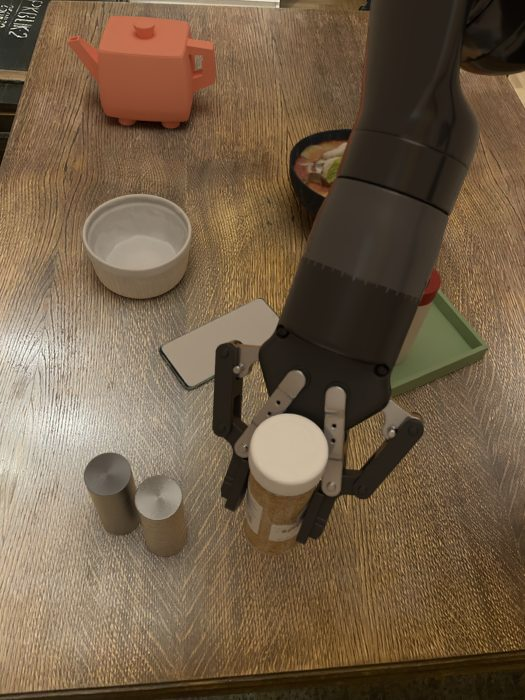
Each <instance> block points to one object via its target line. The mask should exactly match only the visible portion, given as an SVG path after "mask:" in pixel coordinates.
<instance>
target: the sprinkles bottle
mask: <svg viewBox="0 0 525 700" xmlns="http://www.w3.org/2000/svg"><path fill="white" fill-rule="evenodd" d="M248 460H249V467H250V473H249V477H248V488H247V491H246V499H245V509H244V511H245V514H244V518H243V524H242V525H243V527H242V528H243V533H244V537H245V539H246V541H247V542H248V544H249V546H251V548H253V549H254V550H255V551H257V552H258V553H259V554H261V555H263V556H267V557H268V556H269V557H279V556H283V555H286V554H288V553H290V552H292V551H293V550H294V549H295V548H296V547H297V546H298V545H299V544H300V543H299V542H297V541H295V540H296V537H297V534H298V532H299V529H300V527H301V524H302V522H303V519H304V517H305V514H306V512H307V509H308V506H309V504H310V501H311V499H312V496H313V494H314V491H315V489H316V487H317V485H318V483H319V481H320V480H322V475H323V473H324V470H325V467H326V464H327V460H328V444H327V440H326V438H325V436H324V434H323V432H322V431H321V429H320V428H319V427H318V426H317V425H316V424H315V423H313V422H312V421H311V420H309V419H307V418H305V417H303V416H300V415H296V414H279V415H275V416H272V417H270V418H268V419H266V420H265V421H263V422H262V423H261V424H260V425H259V426H258V427H257V428H256V430H255V431H254V433H253V436H252V438H251V442H250V448H249V457H248Z"/></svg>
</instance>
